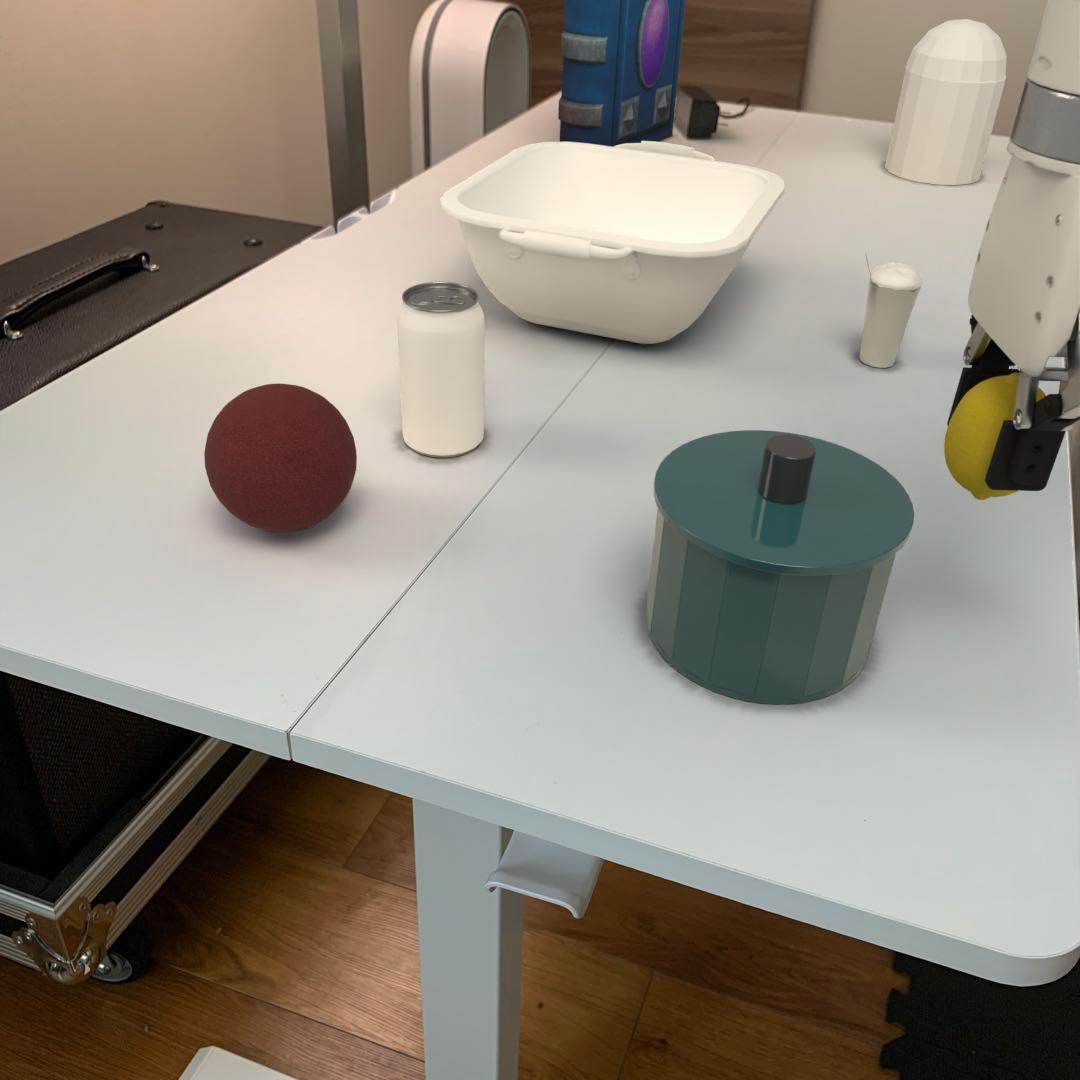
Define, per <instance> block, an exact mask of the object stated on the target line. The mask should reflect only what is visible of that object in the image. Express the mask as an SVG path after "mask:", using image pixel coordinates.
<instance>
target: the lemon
mask: <svg viewBox="0 0 1080 1080" xmlns="http://www.w3.org/2000/svg"><path fill="white" fill-rule="evenodd" d="M1018 379H1019V373H1012V374H1010V375H1009V376H997V377H993V378H990V379H987V380H985V381H982V382H980V383H979V384H977V385H976V386H974V387H973V388H972V389H970V390H969V391H968V392H967V393H966V394H965V395H964V397H963V398H962V399H961V401H960V402H959V404H958V406H957V407H956V409H955V411H954V413H953V415H952V417H951V420H950V422H949V425H948V426H947V428H946V431H945V437H944V442H943V443H944V447H943V449H944V451H943V453H944V460H945V464H946V467H947V469H948V471H949V473H950V475H951V476H952V477H953V479H954V481H955V482H956V483H957V484H959V485H960V486H961V487H962V488H963V489H964V490H967V491H968V492H970V494H971V495H972V496H973V498H974V499H976V500H978V501H985V500H987V499H990V498H1000V497H1005V496H1011V495H1012V494H1015V493H1018V491H1015V490H991V489H990V488H989V487H988V486H987V484H986V483H985V478H986V474H987V471H988V468H989V465H990V462H991V459H992V456H993V452H994V449H995V446H996V443H997V440H998V437H999V434H1000V430H1001V427H1002V424H1003V421H1004V420H1013V413H1014V406H1015V399H1016V393H1017V386H1018ZM1045 396H1047V394H1046V393H1045V392H1044V390H1042V389H1041V388H1040V387H1039V386H1038V392H1037V398H1036V402H1037V401H1039V400H1041V399H1042V398H1044V397H1045Z"/></svg>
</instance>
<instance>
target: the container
mask: <svg viewBox="0 0 1080 1080" xmlns="http://www.w3.org/2000/svg"><path fill="white" fill-rule="evenodd" d="M1007 60H1008V55H1007V52H1006V49H1005V47H1004V44H1003V41H1002V38H1001V36H999V34H998V33H996V32H995V31H994V30H993V29H992V28H991V27H990V26H989V25H988V24H987V23H984V22H981V21H977V20H974V19H969V18H960V19H950V20H946V21H945V22H942V23H940V24H938V25H936V26H934V27H933V28H931V29H929V30H928V31H927V32H926V33H925V34H924V35H923V36H922V37H921V39H920V40H919V41H918V42H917V43H916V44H915V46H914V47H913V48H912V50H911V52H910V55H909V57H908V59H907V62H906V65H905V67H904V74H903V79H902V85H901V89H900V93H899V97H898V103H897V106H896V113H895V117H894V121H893V127H892V131H891V136H890V140H889V145H888V149H887V155H886V160H885V163H884V164H885V165H884V168H885V170H886V171H887V172H888V173H890V174H892V175H894V176H895V177H896V176H897V177H898V178H902V179H905V180H909V181H913V182H917V183H924V184H929V185H930V184H931V185H938V186H939V185H941V186H959V185H960V186H961V185H969V184H973V183H976V182H978V181H980V178H981V174H982V171H983V167H984V164H985V161H986V160H985V159H986V156H987V152H988V149H989V144H990V140H991V137H992V134H993V130H994V129H993V128H994V126H995V122H996V118H997V114H998V111H999V107H1000V102H1001V99H1002V94H1003V91H1004V87H1005V83H1006V80H1007Z"/></svg>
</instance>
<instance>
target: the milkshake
mask: <svg viewBox="0 0 1080 1080" xmlns="http://www.w3.org/2000/svg"><path fill="white" fill-rule="evenodd" d="M865 259H866V263H867V264H866V265H867V267H868V272H869V281H868V288H867V289H868V290H867V299H866V307H865V315H864V321H863V328H862V335H861V342H860V348H859V356H858V360H860V361H861V362H862V364H863V365H867V366H869V367H871V368H880V369H886V368H891V367H893V366H894V364H895V363H896V360H897V357H898V354H899V351H900V349H901V345H902V342H903V338H904V336H905V333H906V329H907V326H908V323H909V321H910V317H911V315H912V312H913V310H914V307H915V304H916V301H917V299H918V297H919V294H920V292H921V291H920V290H921V288H922V285H923V279H922V275H921V273H920V272H919V271H918V270H917V269H915V268H913V267H912V266H910V265H909V264H907V263H900V262H898V261H891V262H887V263H885V264H880V265H878V266H876V267H875V268H873V269H872V270H870V265H869V260H868V256H867V253H865Z"/></svg>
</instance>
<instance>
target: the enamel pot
mask: <svg viewBox="0 0 1080 1080" xmlns="http://www.w3.org/2000/svg"><path fill="white" fill-rule="evenodd" d="M896 555H897V554H895V555H893V556H891V557H890V558H888V559H887V560H885V561H883V562H881V563H879V564H877V565H875V566H872V567H869V568H866V569H863V570H859V571H855V572H850V573H845V574H837V575H827V576H801V575H787V574H780V573H772V572H767V571H762V570H758V569H753V568H749V567H746V566H743V565H739V564H736V563H733V562H730V561H728V560H725V559H722V558H720V557H717V556H715V555H713V554H711V553H709V552H707V551H705V550H703V549H701V548H699V547H698V546H696V545H694V544H693V543H691V542H689V541H688V540H687V539H685V538H684V537H683V536H681V535H680V534H679V533H678V532H676V531H675V530H674V529H673V528H672V527H671V526H670V525H669V524H668V522H667V521H666V520H665V519H664V517H663V516H662V515H661V513H660V511H659V509H658V508H657V511H656V520H655V528H654V537H653V546H652V554H651V563H650V573H649V582H648V589H647V591H648V592H647V598H646V613H647V614H646V619H647V630H648V633H649V637H650V639H651V642H652V643H653V645H654V648H656V650H657V651H658V653H659V655H660V656H662V658H663V659H664V660H665V661H666V662H667V663H668V664H669V665H670V666H671V667H672V668H673V669H675V670H676V671H677V672H678V673H679V674H681V675H683V676H684V677H685V678H686V679H688V680H690V681H692V682H694V683H695V684H697V685H699V686H701V687H703V688H704V689H707V690H710V691H711V692H714V693H716V694H720V695H722V696H726V697H729V698H732V699H737V700H741V701H744V702H750V703H758V704H768V705H793V704H800V703H801V704H803V703H808V702H811V701H812V702H813V701H816V700H820V699H824V698H826V697H829V696H831V695H834V694H836V693H838V692H840V691H841V690H843V689H844V688H846V687H847V686H848V685H850V684H851V683H853V681H854V680H855V679H856V678H857V677H858V676H859V675H860V673H861V672H862V670H863V669H864V667H865V666H866V664H867V661H868V657H869V654H870V650H871V646H872V643H873V639H874V636H875V631H876V628H877V624H878V621H879V617H880V614H881V609H882V606H883V604H884V603H883V602H884V599H885V595H886V592H887V588H888V584H889V580H890V577H891V573H892V570H893V566H894V562H895V558H896Z"/></svg>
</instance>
